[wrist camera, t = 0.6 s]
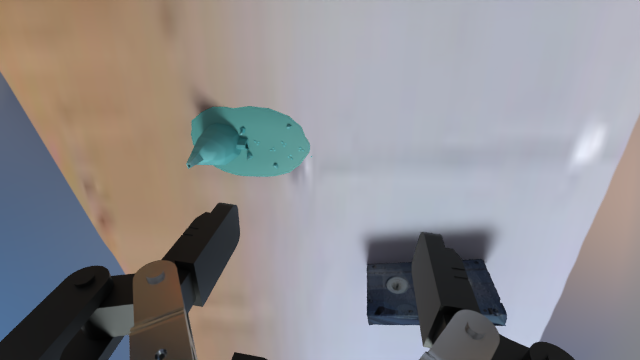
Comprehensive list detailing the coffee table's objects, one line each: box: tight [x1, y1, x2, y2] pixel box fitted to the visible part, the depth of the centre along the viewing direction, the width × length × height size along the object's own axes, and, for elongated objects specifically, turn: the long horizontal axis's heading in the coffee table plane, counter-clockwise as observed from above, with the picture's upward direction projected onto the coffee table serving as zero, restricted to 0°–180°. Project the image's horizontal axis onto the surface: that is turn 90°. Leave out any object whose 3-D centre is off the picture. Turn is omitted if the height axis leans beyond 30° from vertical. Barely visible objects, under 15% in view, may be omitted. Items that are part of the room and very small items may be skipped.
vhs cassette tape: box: [367, 259, 507, 326], centre depth 45 cm, size 18×3×10 cm, turn 100°
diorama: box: [186, 106, 312, 177], centre depth 39 cm, size 12×20×9 cm, turn 89°
